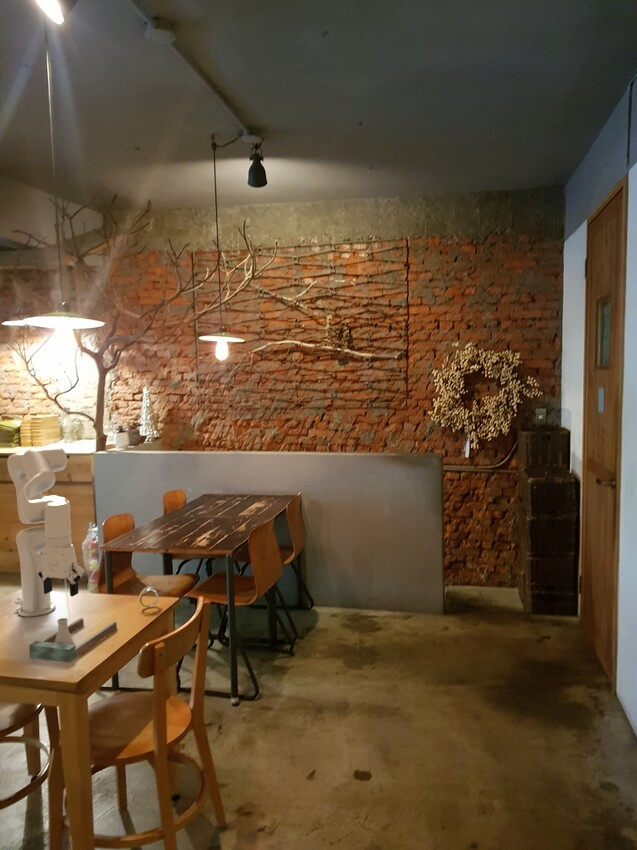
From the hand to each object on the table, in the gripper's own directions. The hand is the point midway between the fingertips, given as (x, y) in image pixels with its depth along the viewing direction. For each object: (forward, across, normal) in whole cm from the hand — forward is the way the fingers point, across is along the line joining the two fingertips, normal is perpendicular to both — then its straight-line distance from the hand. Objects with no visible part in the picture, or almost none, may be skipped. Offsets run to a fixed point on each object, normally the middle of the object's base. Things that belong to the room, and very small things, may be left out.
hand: (61, 593), depth 191 cm
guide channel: (+18, +1, +5) cm, 19 cm away
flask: (+19, 0, 0) cm, 19 cm away
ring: (+19, +8, +38) cm, 43 cm away
